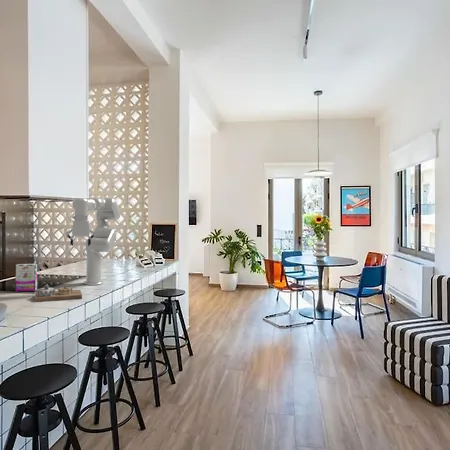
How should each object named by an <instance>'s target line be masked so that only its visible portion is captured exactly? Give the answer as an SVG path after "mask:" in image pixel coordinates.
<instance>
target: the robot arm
mask: <svg viewBox="0 0 450 450" xmlns="http://www.w3.org/2000/svg"><path fill="white" fill-rule="evenodd" d="M71 204H72V208H73V209H74V215H73V216H72V217H71V219H73V221H72V227H71V229H70V230H67V231H66V232H65V235H66V236H67V238H69V240H70V243H69V244H70V245H71V246H72V247H73V246H74V238H75V237H80V238H81V237H82V238H83V237H84V238H87V239H86V240H85V244H84V245H85V251H86V268H85V269H86V270H85V272H86V274H85V275H86V278H85V279H86V280H85V281H83V284H84V285H87V286H97V285H98V286H99V285H102V284H103V283H104V281H103V280H102V278H101V277H102V256H101V254H100V253H109V252H110V251H111V250H112V248H113V247H114V245H115V242H116V239H117V232H116V229H114V228H110V225H109V223H108V222H107V221H117V220H119V219H120V218H121V210H120V208H119V206H118V203H117V201H116V199H114V198H113V197H112V198H111V197H86V198H85V197H84V198H79V197H78V198H74V200H73V201H72V203H71ZM88 211H96V212H95V214H96V215H95V216H96V227H95V228H94V230H91V227H90V226H91V225H90V221H89V220H88V216H89V215H88V214H89V213H88ZM70 233H71V235H70ZM90 234H91V235H90Z"/></svg>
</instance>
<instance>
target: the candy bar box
mask: <svg viewBox="0 0 450 450" xmlns="http://www.w3.org/2000/svg"><path fill="white" fill-rule="evenodd" d="M14 279H15V288H14V289H15V293H19V292H21V293H22V292H37V289H38V263H16V264H15V278H14Z"/></svg>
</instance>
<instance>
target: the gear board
mask: <svg viewBox="0 0 450 450" xmlns="http://www.w3.org/2000/svg"><path fill="white" fill-rule="evenodd" d="M67 287H68V286H64V289H67ZM82 299H83V294H82V291H81V289H72V293H71V294H66V295H60V294H58V290H56V287H54V288H53V287H49V285H48V284H46V285H44V287H41V288H37V290H36V291H35V296H34V302H35V303H37V302H54V301H55V302H56V301H69V300H82Z"/></svg>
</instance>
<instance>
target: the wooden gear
mask: <svg viewBox="0 0 450 450" xmlns="http://www.w3.org/2000/svg"><path fill="white" fill-rule="evenodd" d="M57 289H58V290H57V291H58V294H60V295H66V294H71V293H72V290H73V287H70V286H67V289H64V287H59V288H57Z"/></svg>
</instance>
